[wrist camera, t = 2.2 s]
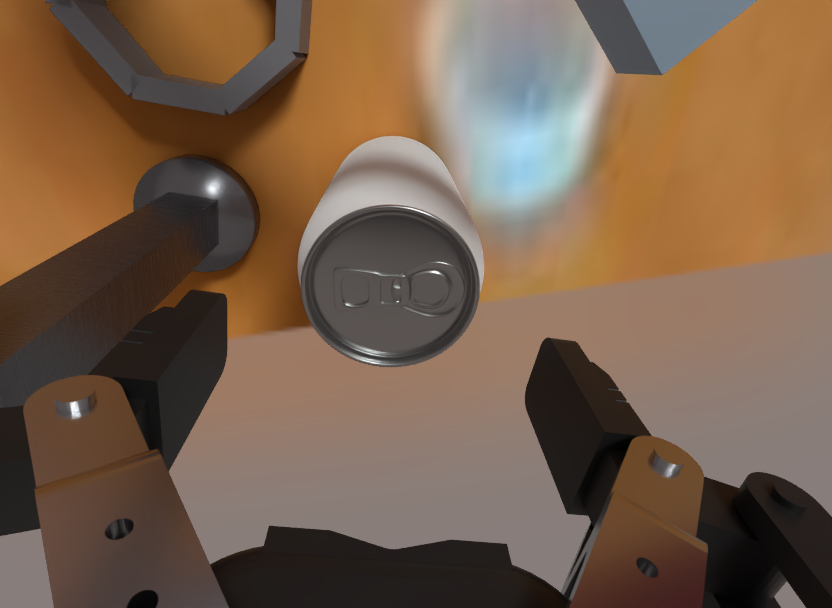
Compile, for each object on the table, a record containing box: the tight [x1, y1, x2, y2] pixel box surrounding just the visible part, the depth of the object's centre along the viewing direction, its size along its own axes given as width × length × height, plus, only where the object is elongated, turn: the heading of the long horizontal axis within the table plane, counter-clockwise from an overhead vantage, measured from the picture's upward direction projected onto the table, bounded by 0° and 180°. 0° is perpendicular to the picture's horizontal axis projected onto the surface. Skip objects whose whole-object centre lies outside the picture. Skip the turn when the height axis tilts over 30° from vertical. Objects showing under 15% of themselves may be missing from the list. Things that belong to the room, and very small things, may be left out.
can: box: [297, 136, 484, 367], centre depth 20 cm, size 6×6×12 cm
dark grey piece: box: [0, 154, 260, 408], centre depth 17 cm, size 6×8×18 cm
